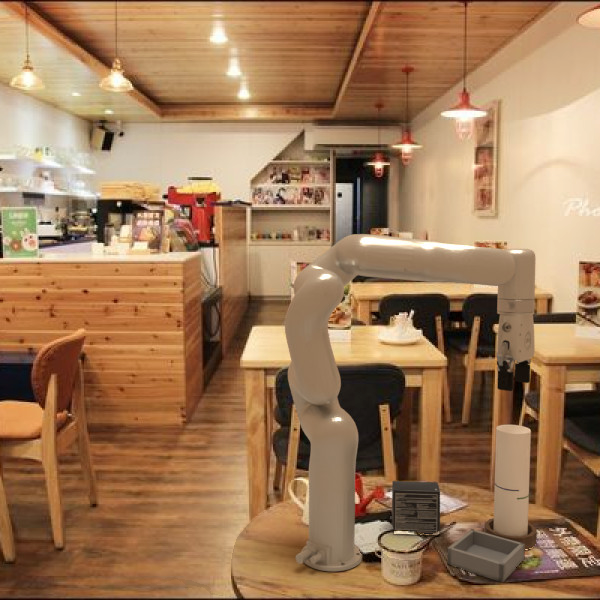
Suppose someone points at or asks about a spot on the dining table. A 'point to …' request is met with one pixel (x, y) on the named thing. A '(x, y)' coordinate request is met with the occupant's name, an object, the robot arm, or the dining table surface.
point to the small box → (416, 506)
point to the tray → (486, 555)
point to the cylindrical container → (512, 480)
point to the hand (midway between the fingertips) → (513, 385)
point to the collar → (526, 539)
